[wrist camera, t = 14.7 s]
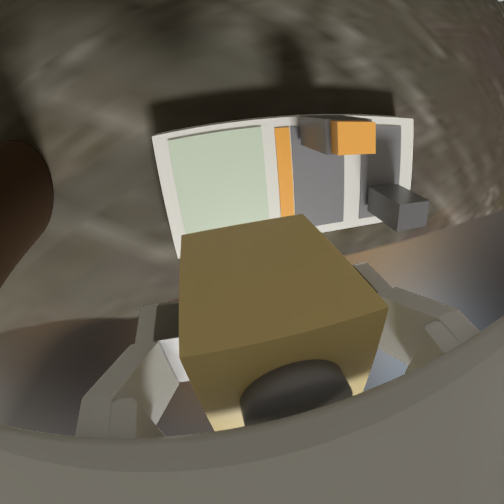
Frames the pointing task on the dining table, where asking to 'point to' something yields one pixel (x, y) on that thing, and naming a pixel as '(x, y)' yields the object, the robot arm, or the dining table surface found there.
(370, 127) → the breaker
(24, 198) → the olive oil
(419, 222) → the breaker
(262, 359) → the tan block with knob
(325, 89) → the dining table surface
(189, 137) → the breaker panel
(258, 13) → the dining table surface
